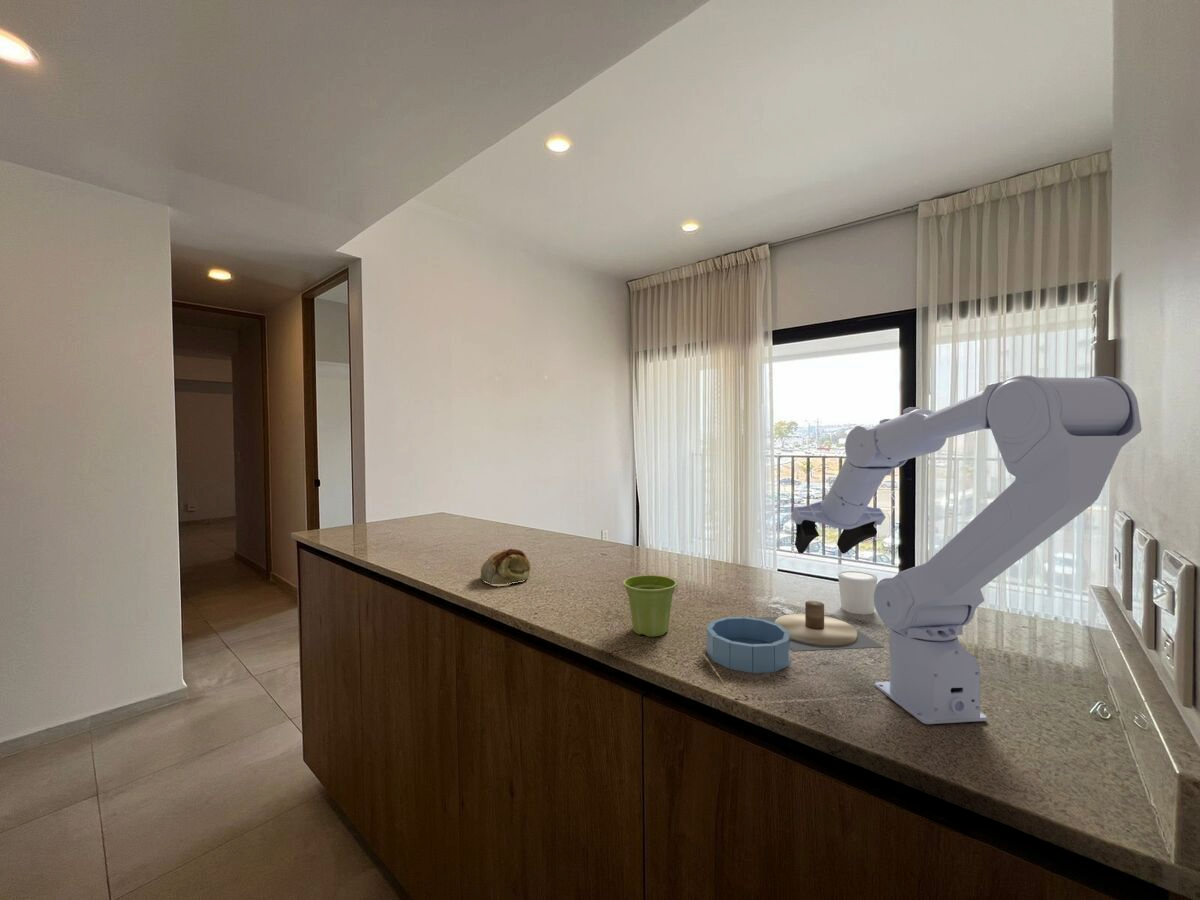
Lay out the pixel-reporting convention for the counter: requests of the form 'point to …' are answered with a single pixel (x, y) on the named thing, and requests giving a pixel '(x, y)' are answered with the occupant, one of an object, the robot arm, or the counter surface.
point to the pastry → (506, 567)
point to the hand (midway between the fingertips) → (819, 548)
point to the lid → (817, 627)
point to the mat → (860, 642)
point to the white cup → (857, 592)
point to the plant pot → (650, 603)
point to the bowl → (748, 644)
